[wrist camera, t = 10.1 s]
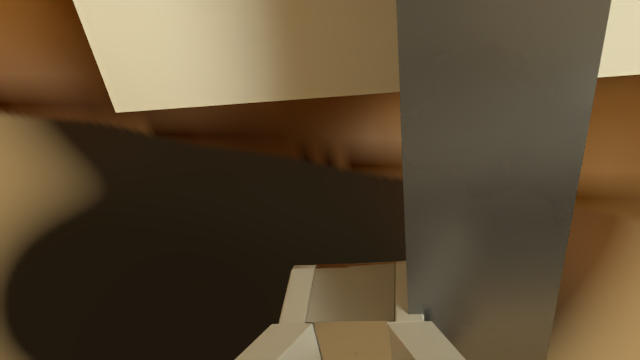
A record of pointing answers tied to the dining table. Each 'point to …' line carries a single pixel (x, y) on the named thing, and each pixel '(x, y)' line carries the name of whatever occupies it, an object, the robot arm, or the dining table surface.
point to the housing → (270, 49)
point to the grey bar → (493, 161)
